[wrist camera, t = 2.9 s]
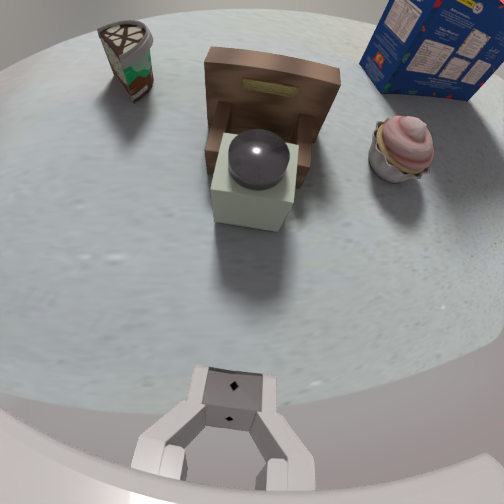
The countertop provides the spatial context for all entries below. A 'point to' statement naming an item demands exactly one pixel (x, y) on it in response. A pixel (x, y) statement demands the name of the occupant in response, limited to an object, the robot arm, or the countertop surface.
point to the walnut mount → (267, 99)
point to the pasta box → (436, 47)
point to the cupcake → (401, 149)
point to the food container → (129, 55)
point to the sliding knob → (254, 180)
